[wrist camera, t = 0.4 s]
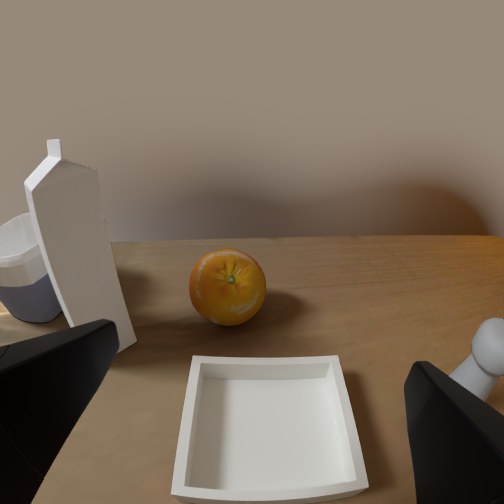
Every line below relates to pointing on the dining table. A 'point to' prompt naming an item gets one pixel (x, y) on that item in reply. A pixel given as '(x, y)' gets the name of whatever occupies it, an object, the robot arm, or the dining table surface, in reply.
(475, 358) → the salt shaker
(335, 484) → the dish
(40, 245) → the milk
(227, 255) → the fruit
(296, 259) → the dining table surface
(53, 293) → the bowl
